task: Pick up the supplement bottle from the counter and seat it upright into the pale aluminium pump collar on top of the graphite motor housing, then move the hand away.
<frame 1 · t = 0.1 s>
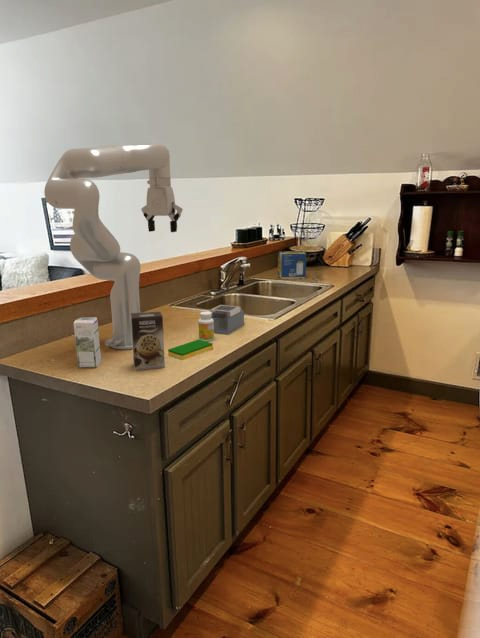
hand: (162, 231, 173), 37 cm above the countertop, fingers open, 9 cm apart
dish sponge: (191, 353, 154), on the countertop
motor housing: (225, 328, 180), on the countertop
protein box: (291, 278, 284), on the countertop
supplement bottle: (206, 339, 167), on the countertop
syrup box: (90, 365, 143), on the countertop
coffee box: (149, 366, 142), on the countertop
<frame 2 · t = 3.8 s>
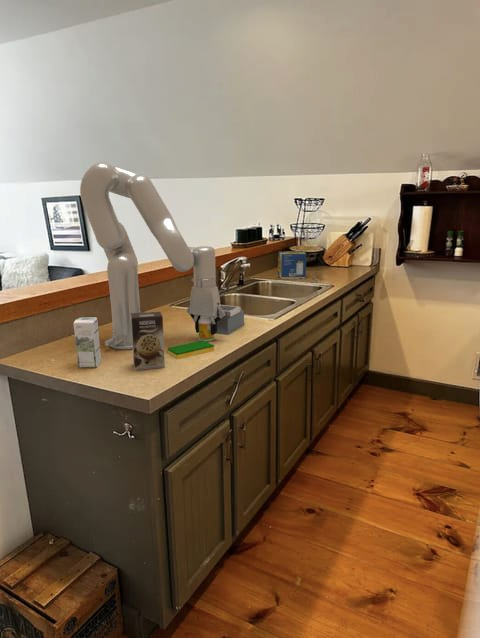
hand: (206, 332, 166), 3 cm above the countertop, fingers closed on supplement bottle, 5 cm apart
supplement bottle: (206, 339, 167), on the countertop, touching gripper
when the fingers open (9 cm above the countertop, at t = 8.8 s): supplement bottle stays where it is, resting on motor housing.
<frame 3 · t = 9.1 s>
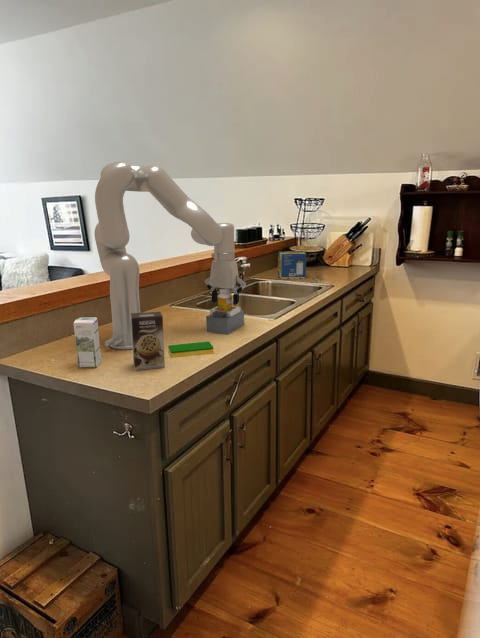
hand: (225, 302, 177), 10 cm above the countertop, fingers open, 8 cm apart
supplement bottle: (225, 313, 178), point 6 cm above the countertop, touching motor housing
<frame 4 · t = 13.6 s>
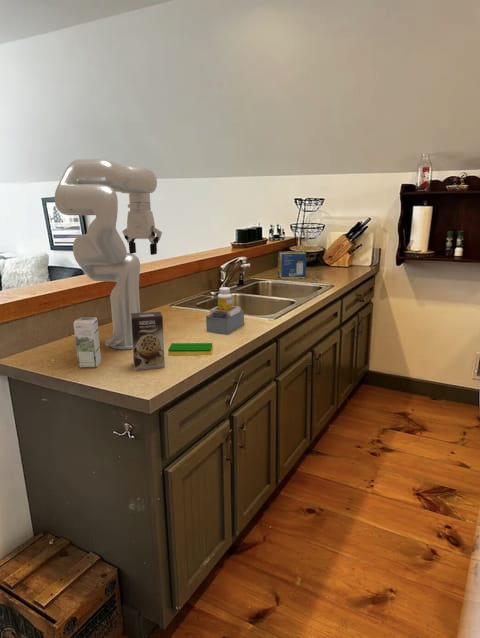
hand: (143, 253, 177), 28 cm above the countertop, fingers open, 9 cm apart
at the end: supplement bottle 0.2 cm off-centre on the motor housing, point 5.8 cm above the motor housing's base; supplement bottle tilted 0°; the gripper is holding nothing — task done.
